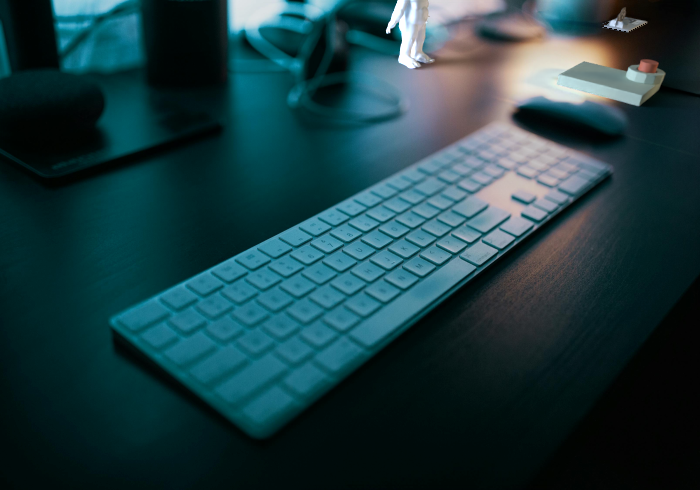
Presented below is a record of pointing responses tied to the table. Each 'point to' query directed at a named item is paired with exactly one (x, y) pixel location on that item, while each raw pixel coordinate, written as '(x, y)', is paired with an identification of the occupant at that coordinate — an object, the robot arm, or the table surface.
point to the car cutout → (624, 22)
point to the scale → (613, 82)
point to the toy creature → (411, 30)
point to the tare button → (648, 66)
